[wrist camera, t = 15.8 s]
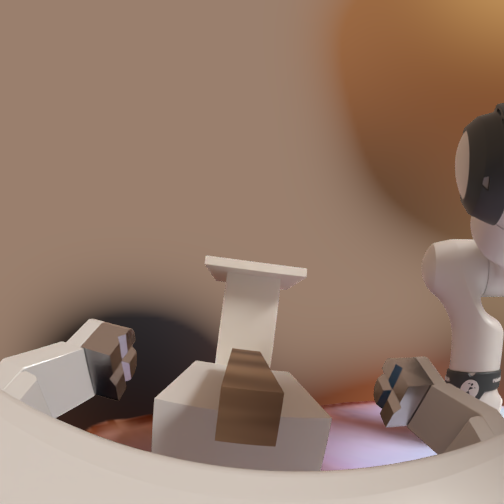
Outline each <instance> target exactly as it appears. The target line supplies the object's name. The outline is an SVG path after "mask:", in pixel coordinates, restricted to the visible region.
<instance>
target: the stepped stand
mask: <svg viewBox="0 0 504 504" xmlns="http://www.w3.org/2000/svg"><path fill="white" fill-rule="evenodd" d="M205 265H206V267H207V268H208V269H209V271H210V272H211V274H212V276H213V277H214V279H215V280H216V281H221V282H226V285H225V293H224V300H223V308H222V315H221V323H220V330H219V338H218V346H217V354H216V362H215V364H214V363H208V362H201V361H195V362H194V363H193V364H192V365H191V366H190V367H189V368H187V370H185V371H184V372H183V373H182V374H181V375H180V376H179V377H178V378H177V379H175V380H174V381H173V382H172V383H171V384H170V385H169V386H168V387H167V388H166V389H164V390H163V391H162V392H161V393H160V394H159V395H158V396H157V397H156V398H155V399H154V413H153V428H152V451H151V452H152V453H155V454H160V455H164V456H168V457H173V458H177V459H182V460H187V461H192V462H198V463H204V464H210V465H217V466H225V467H233V468H242V469H253V470H268V471H320V470H321V466H322V462H323V458H324V454H325V449H326V445H327V440H328V436H329V431H330V426H331V421H332V418H331V417H330V416H329V414H328V413H327V412H326V411H325V410H324V409H323V408H322V407H321V406H320V405H319V404H318V403H317V402H316V401H315V400H314V399H313V398H312V396H311V395H309V393H308V392H307V391H306V390H305V389H304V388H303V387H302V386H301V385H300V384H299V382H298V381H297V380H296V379H295V378H294V377H293V376H292V375H291V374H290V373H289V372H283V371H272V370H271V371H272V373H273V375H274V376H275V378H276V380H277V381H278V383H279V385H280V386H281V388H282V390H283V392H284V398H283V405H282V411H281V417H280V424H279V429H278V435H277V441H276V447H273V446H258V445H247V444H237V443H229V442H221V441H215V433H216V425H217V416H218V408H219V399H220V391H221V385H222V381H223V378H224V375H225V371H226V368H227V364H228V361H229V357H230V354H231V351H232V348H235V349H243V350H251V351H260V352H261V354H262V356H263V357H264V359H265V361H266V362H267V364H268V366H269V368H270V365H271V358H272V350H273V342H274V335H275V327H276V318H277V310H278V302H279V293H280V289H284V290H287V289H288V288H290V287H291V286H293V285H295V284H296V283H298V282H299V281H301V280H302V279H304V278H306V276H307V269H306V268H298V267H290V266H282V265H274V264H267V263H258V262H251V261H243V260H235V259H228V258H221V257H213V256H206V259H205Z"/></svg>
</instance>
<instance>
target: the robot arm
mask: <svg viewBox="0 0 504 504" xmlns="http://www.w3.org/2000/svg"><path fill="white" fill-rule="evenodd" d="M455 174H456V181H457V185H458V189H459V192H460V198H461V202H462V204H463V206H464V208H465V209H466V211H467V213H468V214H470V215H471V216H472V217H471V233H472V236H473V239H474V240H469V239H468V240H467V239H451V240H446V241H441V242H437V243H433V244H432V245H430V247H429V248H428V249H427V251H426V253H425V255H424V257H423V261H422V275H423V280H424V282H425V284H426V286H427V288H428V289H429V290H430V291H431V292H432V293H433V294H434V295H435V296H436V297H438V299H439V300H440V301H441V303H442V304H443V305H444V307H445V309H446V311H447V313H448V316H449V319H450V322H451V328H452V350H451V360H450V367H449V369H448V370H447V374H446V376H445V381H444V380H443V378H442V377H441V375H440V374H439V373H438V372H437V370H436V369H435V367H434V366H433V365H432V363H431V362H430V360H429V359H428V358H426V357H413V358H388V359H387V360H386V361H385V363H384V365H383V367H382V369H383V372H384V374H382V375H381V376H380V377H379V378H378V379H377V381H376V384H375V387H374V400H375V402H376V404H377V405H378V406H379V407H381V408H382V410H381V413H380V415H381V417H382V420H383V422H384V424H385V427H397V426H407V427H408V428H409V429H410V430H411V431H412V432H413V433H414V434H415V435H417V436H418V437H419V438H420V439H421V440H422V441H423V442H424V443H426V444H427V445H428V446H429V447H430V448H431V449H432V450H433V451H435V452H436V453H437V454H438V455H434V456H430V457H425V458H421V459H416V460H411V461H406V462H401V463H395V464H389V465H383V466H375V467H367V468H358V469H347V470H332V471H268V470H253V469H242V468H233V467H225V466H217V465H210V464H204V463H198V462H192V461H187V460H182V459H177V458H173V457H168V456H164V455H160V454H155V453H152V452H148V451H144V450H140V449H137V448H133V447H130V446H127V445H123V444H120V443H117V442H114V441H111V440H108V439H105V438H102V437H100V436H97V435H94V434H91V433H89V432H86V431H84V430H81V429H79V428H76V427H74V426H71V425H69V424H67V423H64V422H62V421H60V420H58V419H56V417H58V416H60V415H62V414H64V413H65V412H67V411H69V410H70V409H72V408H74V407H75V406H78V405H79V404H81V403H83V402H85V401H86V400H88V399H89V398H91V397H93V396H94V395H95V394H96V395H99V396H102V397H106V398H109V399H113V400H116V401H119V400H120V398H121V396H122V394H123V392H124V391H125V389H126V383H125V381H127V380H130V379H131V378H132V376H133V374H134V372H135V368H136V363H137V355H136V351H135V350H134V348H133V347H132V345H133V343H134V342H135V335H134V331H133V330H132V329H130V328H126V327H122V326H118V325H114V324H111V323H107V322H103V321H99V320H95V319H89V320H88V321H87V322H86V323H85V324H84V325H83V326H82V327H81V328H80V329H79V330H78V331H77V332H76V333H75V334H74V335H73V336H72V337H71V338H70V339H69V340H68V341H67V342H66V343H65V342H59V343H56V344H52V345H49V346H45V347H42V348H39V349H36V350H32V351H29V352H25V353H22V354H18V355H15V356H11V357H8V358H4V359H3V360H2V361H1V362H0V504H504V418H503V417H502V416H501V414H500V410H501V405H502V399H501V397H500V395H499V394H498V391H497V388H498V387H499V382H500V379H501V369H500V363H501V355H502V346H503V334H504V333H503V329H502V326H501V325H500V323H499V322H498V321H497V320H496V319H495V318H494V317H492V316H490V315H488V314H487V313H486V312H485V310H484V308H483V306H482V303H481V297H498V296H499V297H501V296H502V297H504V103H501V104H498V105H497V106H496V108H495V111H494V112H493V113H489V114H485V115H482V116H479V117H477V118H476V119H474V120H473V121H472V122H471V123H470V124H469V125H467V126H466V127H465V128H464V131H463V136H462V138H461V140H460V142H459V145H458V148H457V153H456V159H455Z"/></svg>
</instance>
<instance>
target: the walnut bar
mask: <svg viewBox="0 0 504 504" xmlns="http://www.w3.org/2000/svg"><path fill="white" fill-rule="evenodd" d="M283 398H284V392H283V390H282V388H281V386H280V385H279V383H278V381H277V380H276V378H275V376H274V375H273V373H272V371H271V369H270V368H269V366H268V364H267V362H266V361H265V359H264V357H263V356H262V354H261V352H260V351H251V350H243V349H235V348H232V351H231V354H230V357H229V361H228V364H227V368H226V371H225V375H224V378H223V381H222V385H221V391H220V399H219V408H218V416H217V425H216V433H215V441H221V442H229V443H237V444H247V445H258V446H273V447H276V441H277V435H278V429H279V424H280V417H281V411H282V405H283Z"/></svg>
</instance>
